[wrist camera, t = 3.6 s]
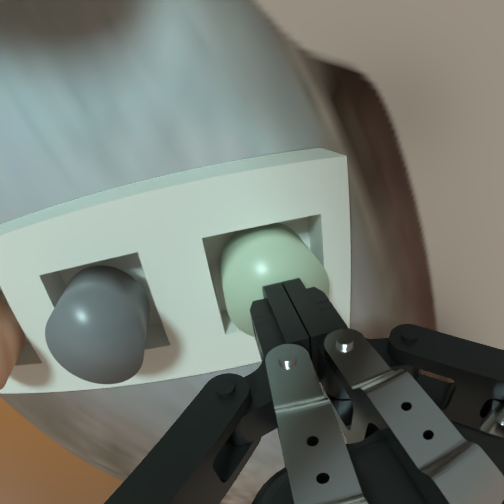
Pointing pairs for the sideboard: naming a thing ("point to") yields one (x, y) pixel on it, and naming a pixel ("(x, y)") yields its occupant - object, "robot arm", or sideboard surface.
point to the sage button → (264, 268)
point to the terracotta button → (9, 342)
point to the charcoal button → (100, 326)
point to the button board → (172, 258)
